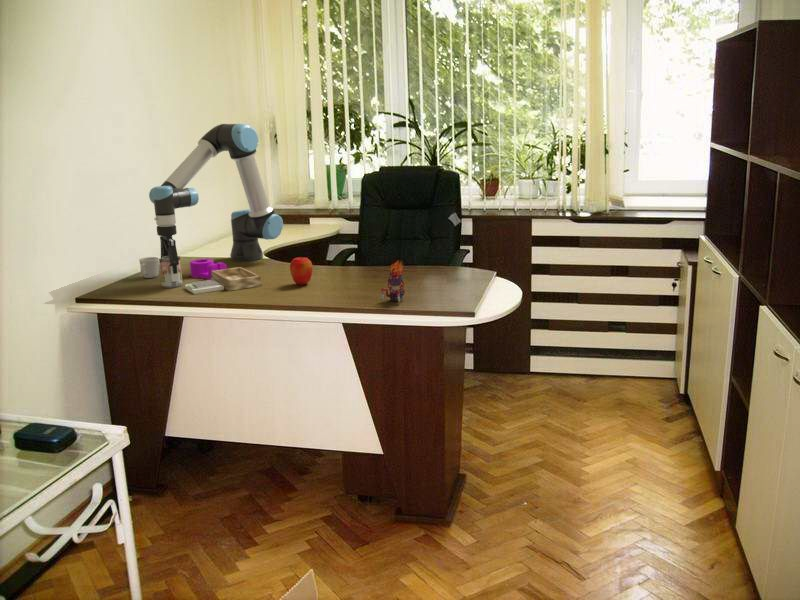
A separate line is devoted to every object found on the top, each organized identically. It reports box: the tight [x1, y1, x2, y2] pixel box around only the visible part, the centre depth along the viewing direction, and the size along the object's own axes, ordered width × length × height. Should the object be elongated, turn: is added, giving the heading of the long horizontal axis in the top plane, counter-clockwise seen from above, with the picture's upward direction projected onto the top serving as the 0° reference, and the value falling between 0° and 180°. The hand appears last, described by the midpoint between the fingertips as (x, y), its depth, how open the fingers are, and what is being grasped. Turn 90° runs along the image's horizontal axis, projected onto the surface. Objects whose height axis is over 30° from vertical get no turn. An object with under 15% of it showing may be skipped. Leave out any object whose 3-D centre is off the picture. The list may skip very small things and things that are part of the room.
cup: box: [139, 256, 160, 279], centre depth 337 cm, size 11×8×8 cm
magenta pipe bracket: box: [189, 258, 228, 280], centre depth 338 cm, size 16×10×6 cm, turn 53°
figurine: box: [378, 259, 406, 302], centre depth 287 cm, size 8×9×15 cm
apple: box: [289, 255, 314, 286], centre depth 317 cm, size 9×9×12 cm
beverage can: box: [159, 256, 183, 289], centre depth 321 cm, size 9×8×12 cm
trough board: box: [211, 266, 263, 292], centre depth 323 cm, size 14×22×4 cm, turn 31°
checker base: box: [184, 281, 225, 295], centre depth 315 cm, size 12×12×2 cm
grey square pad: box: [190, 279, 217, 289], centre depth 315 cm, size 8×8×1 cm
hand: (171, 278), depth 322 cm, fingers open, 10 cm apart
